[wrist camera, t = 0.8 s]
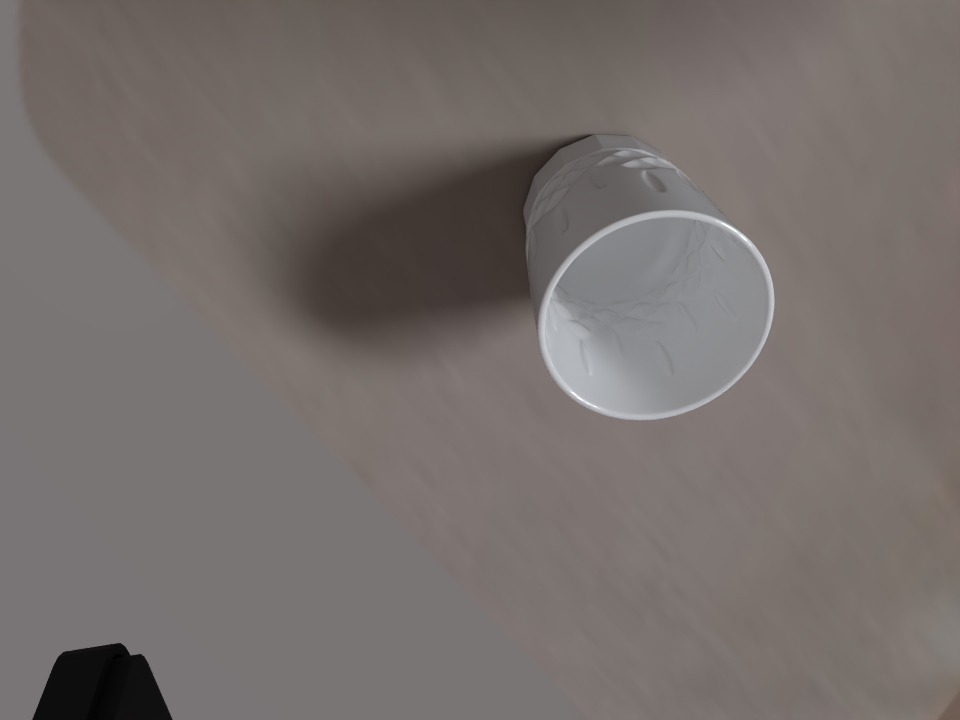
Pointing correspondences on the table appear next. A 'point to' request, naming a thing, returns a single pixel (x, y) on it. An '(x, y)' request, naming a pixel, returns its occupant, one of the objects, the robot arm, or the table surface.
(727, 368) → the white cup
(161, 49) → the table surface
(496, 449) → the table surface
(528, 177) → the table surface
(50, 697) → the robot arm
